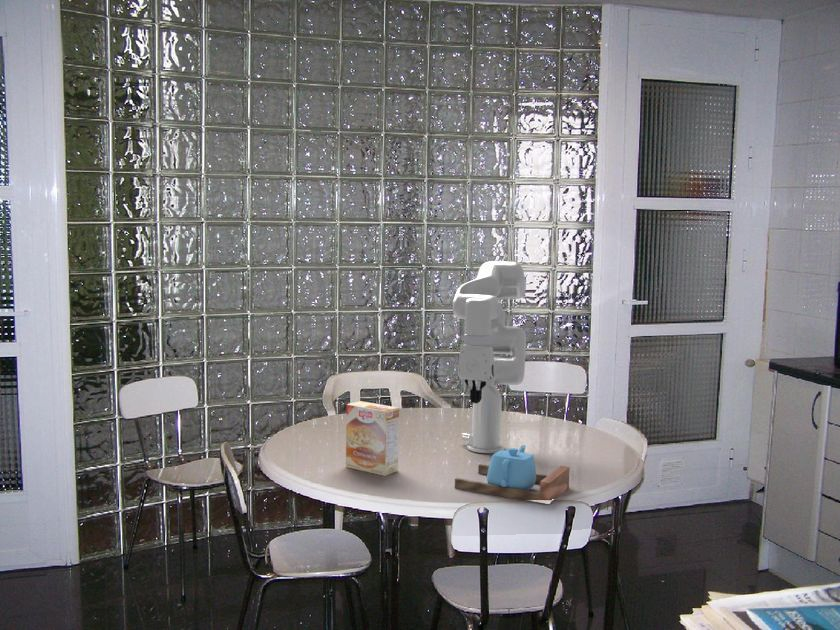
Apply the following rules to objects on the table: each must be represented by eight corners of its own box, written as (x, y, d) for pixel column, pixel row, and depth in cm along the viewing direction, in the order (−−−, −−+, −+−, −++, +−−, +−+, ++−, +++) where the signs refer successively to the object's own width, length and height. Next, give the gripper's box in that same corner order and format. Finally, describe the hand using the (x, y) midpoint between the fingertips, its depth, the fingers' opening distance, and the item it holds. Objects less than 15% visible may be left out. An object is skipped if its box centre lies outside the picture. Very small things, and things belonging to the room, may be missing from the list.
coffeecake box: (344, 467, 239) (345, 404, 237) (359, 462, 245) (360, 400, 243) (384, 476, 231) (386, 411, 229) (398, 471, 237) (400, 406, 235)
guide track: (454, 487, 222) (455, 466, 221) (479, 472, 237) (480, 452, 237) (548, 505, 209) (549, 483, 209) (568, 487, 225) (569, 466, 224)
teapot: (542, 484, 228) (544, 444, 227) (524, 499, 212) (526, 457, 211) (501, 477, 233) (503, 439, 232) (480, 492, 217) (483, 450, 216)
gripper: (448, 339, 229) (447, 401, 232) (495, 344, 222) (493, 408, 224) (459, 336, 236) (458, 396, 238) (506, 341, 228) (504, 403, 231)
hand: (475, 402), depth 231 cm, fingers closed
